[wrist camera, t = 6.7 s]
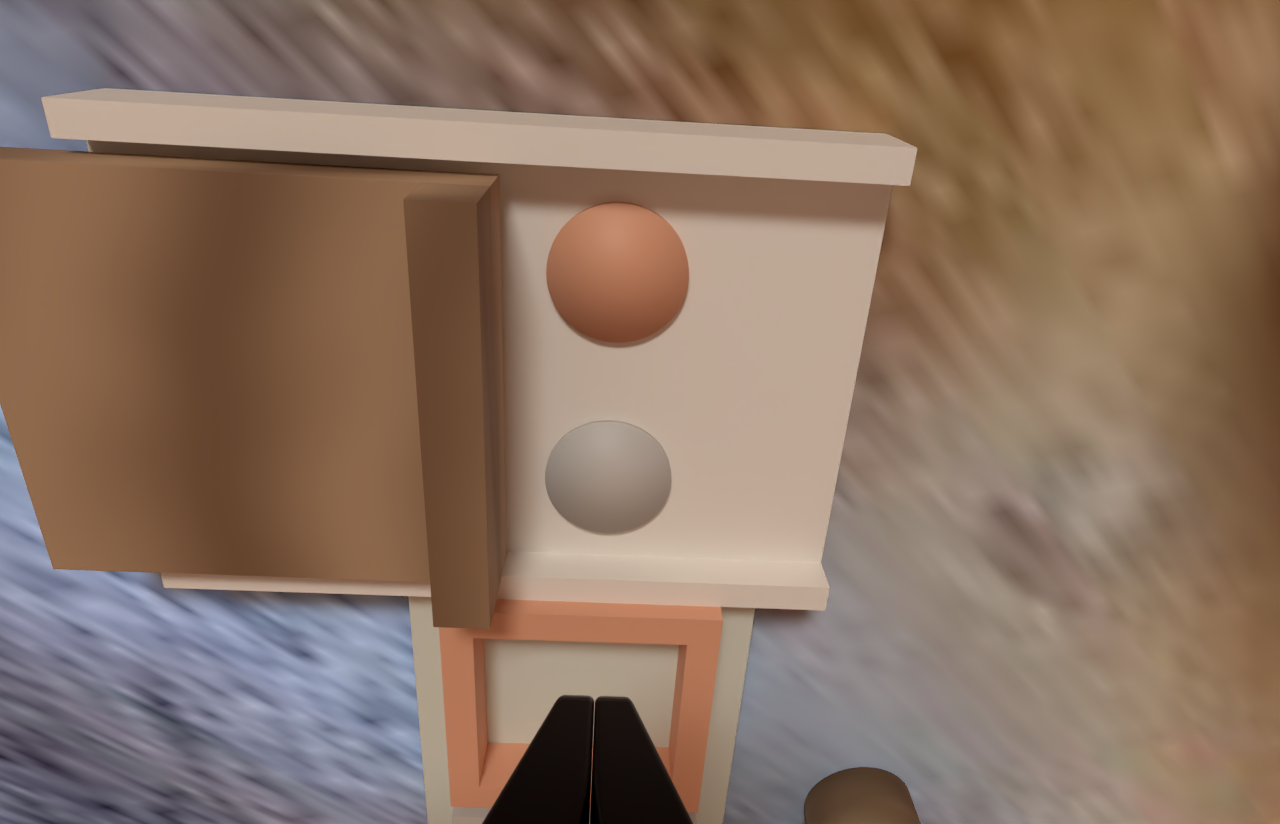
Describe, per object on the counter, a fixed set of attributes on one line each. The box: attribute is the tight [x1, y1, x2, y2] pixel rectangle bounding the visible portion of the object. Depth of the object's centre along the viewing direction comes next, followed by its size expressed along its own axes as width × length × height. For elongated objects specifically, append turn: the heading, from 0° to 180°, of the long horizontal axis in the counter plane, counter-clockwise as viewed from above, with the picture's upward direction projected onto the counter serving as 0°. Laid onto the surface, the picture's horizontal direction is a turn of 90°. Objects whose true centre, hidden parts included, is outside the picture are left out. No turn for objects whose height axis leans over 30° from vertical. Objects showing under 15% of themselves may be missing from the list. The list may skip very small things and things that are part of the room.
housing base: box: [41, 88, 917, 610], centre depth 18 cm, size 16×11×2 cm
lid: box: [0, 147, 507, 629], centre depth 16 cm, size 10×9×3 cm
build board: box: [408, 596, 755, 824], centre depth 24 cm, size 9×14×2 cm, turn 177°
